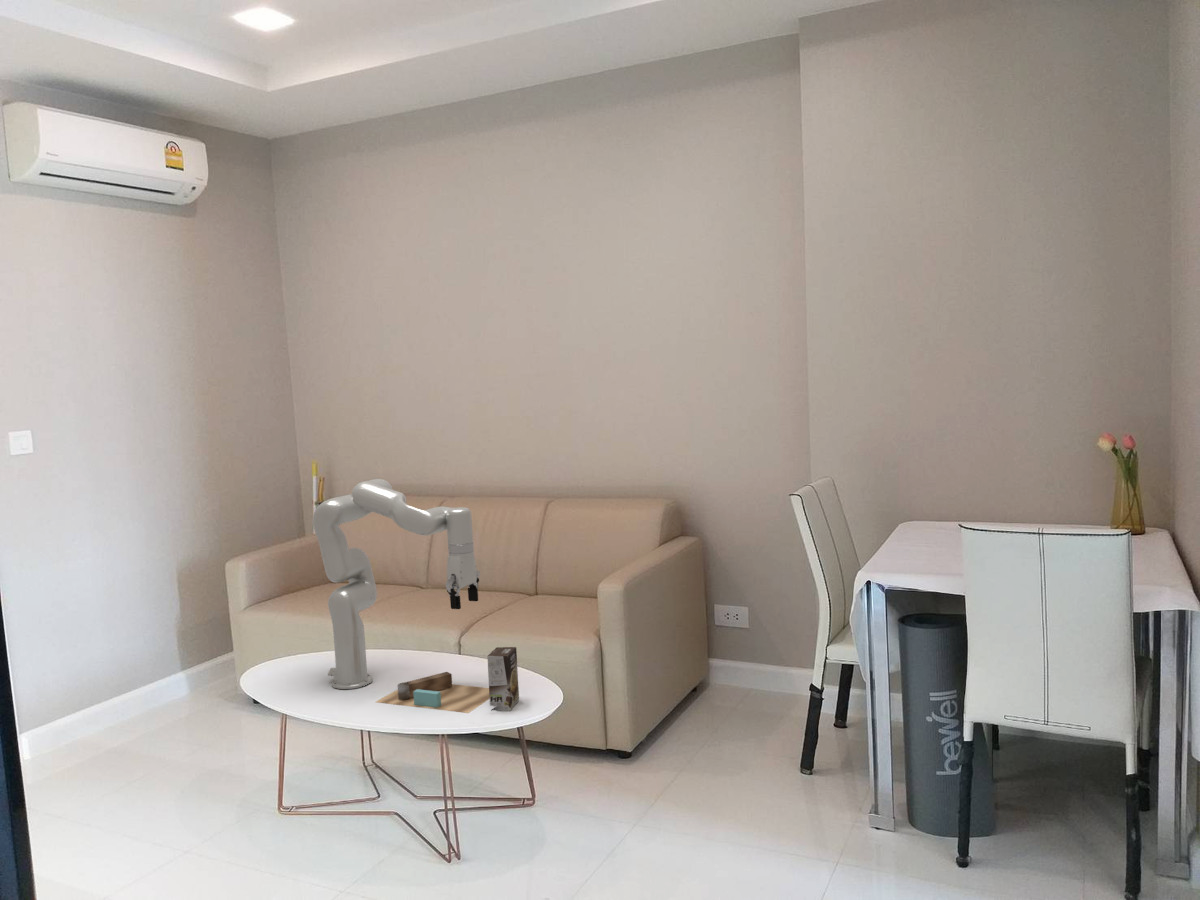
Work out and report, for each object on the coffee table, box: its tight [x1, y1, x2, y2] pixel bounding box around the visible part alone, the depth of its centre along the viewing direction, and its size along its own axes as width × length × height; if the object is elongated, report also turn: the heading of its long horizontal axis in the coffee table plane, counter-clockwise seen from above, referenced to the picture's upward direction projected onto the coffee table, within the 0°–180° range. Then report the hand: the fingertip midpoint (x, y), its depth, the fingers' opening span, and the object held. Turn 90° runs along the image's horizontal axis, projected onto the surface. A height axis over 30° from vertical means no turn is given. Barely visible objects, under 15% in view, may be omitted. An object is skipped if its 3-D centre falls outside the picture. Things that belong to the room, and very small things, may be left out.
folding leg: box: [397, 671, 453, 700], centre depth 271 cm, size 17×4×4 cm, turn 127°
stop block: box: [413, 689, 441, 708], centre depth 260 cm, size 8×2×4 cm, turn 67°
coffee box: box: [487, 646, 520, 712], centre depth 261 cm, size 9×6×16 cm
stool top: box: [375, 683, 490, 714], centre depth 268 cm, size 32×20×2 cm, turn 67°
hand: (464, 604), depth 272 cm, fingers open, 9 cm apart
